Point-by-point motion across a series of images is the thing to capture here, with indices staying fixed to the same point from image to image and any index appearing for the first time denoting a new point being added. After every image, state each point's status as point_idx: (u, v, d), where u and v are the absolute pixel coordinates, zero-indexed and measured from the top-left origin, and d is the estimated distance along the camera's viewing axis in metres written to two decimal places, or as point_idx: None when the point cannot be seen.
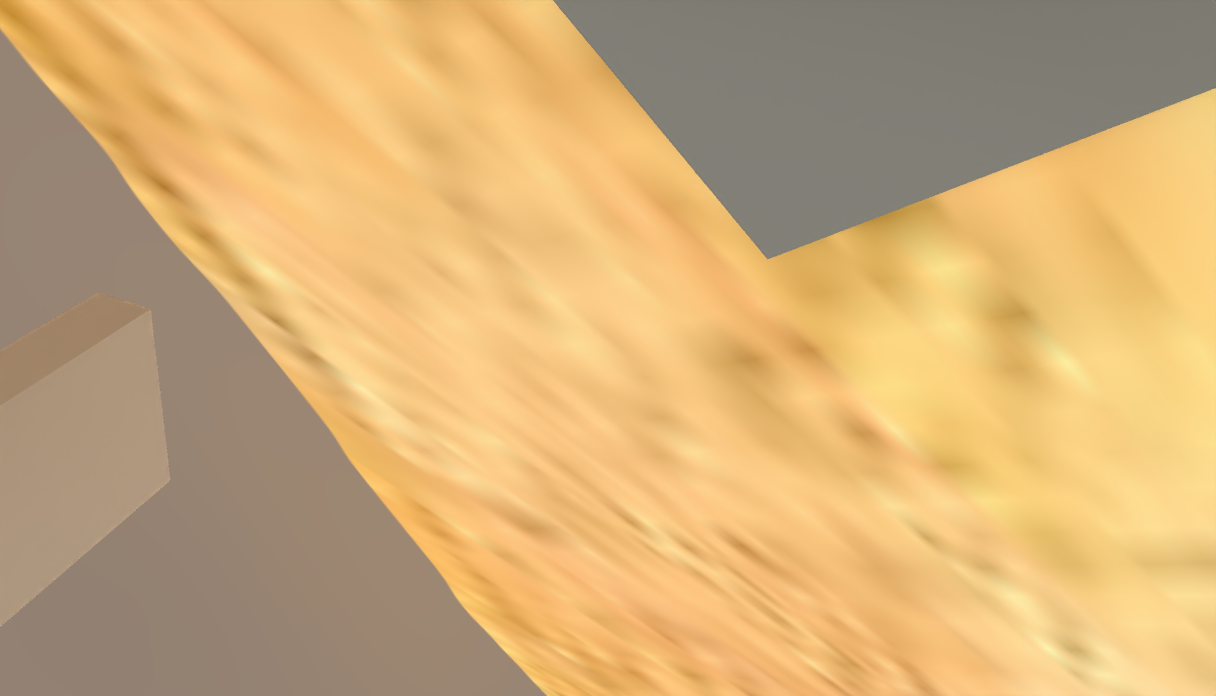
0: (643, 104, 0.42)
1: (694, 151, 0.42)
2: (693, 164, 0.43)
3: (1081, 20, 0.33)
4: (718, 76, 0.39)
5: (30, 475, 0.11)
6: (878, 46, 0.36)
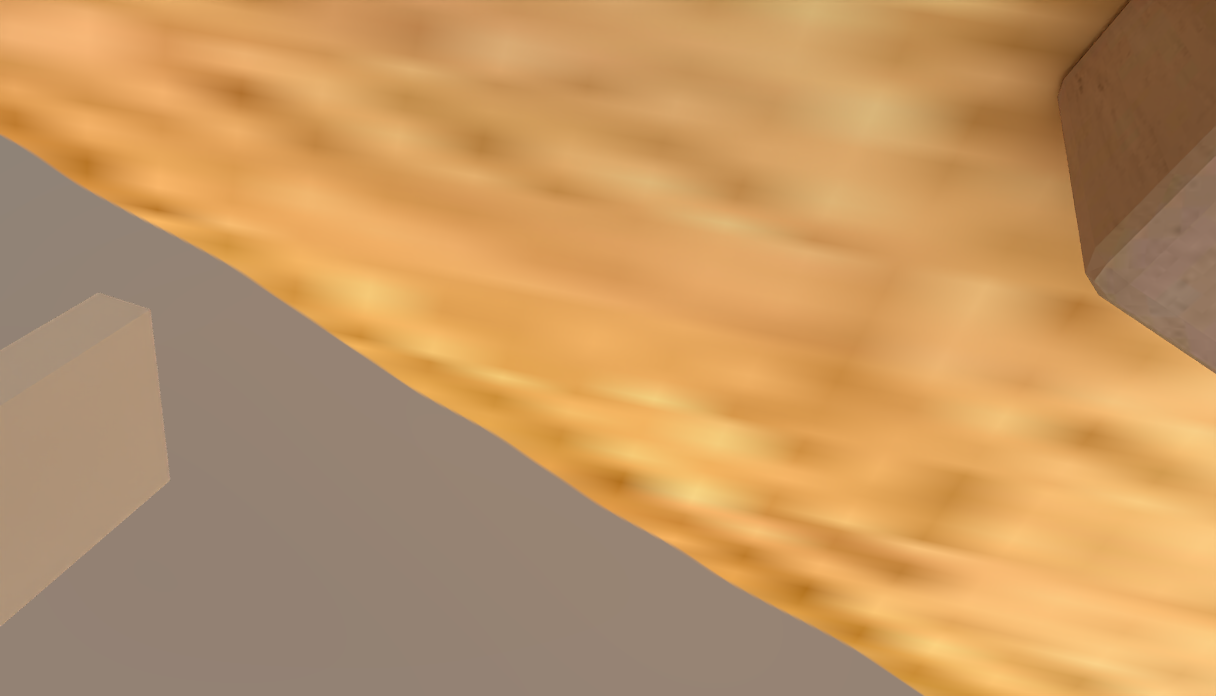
0: None
1: None
2: None
3: None
4: None
5: (30, 475, 0.11)
6: None
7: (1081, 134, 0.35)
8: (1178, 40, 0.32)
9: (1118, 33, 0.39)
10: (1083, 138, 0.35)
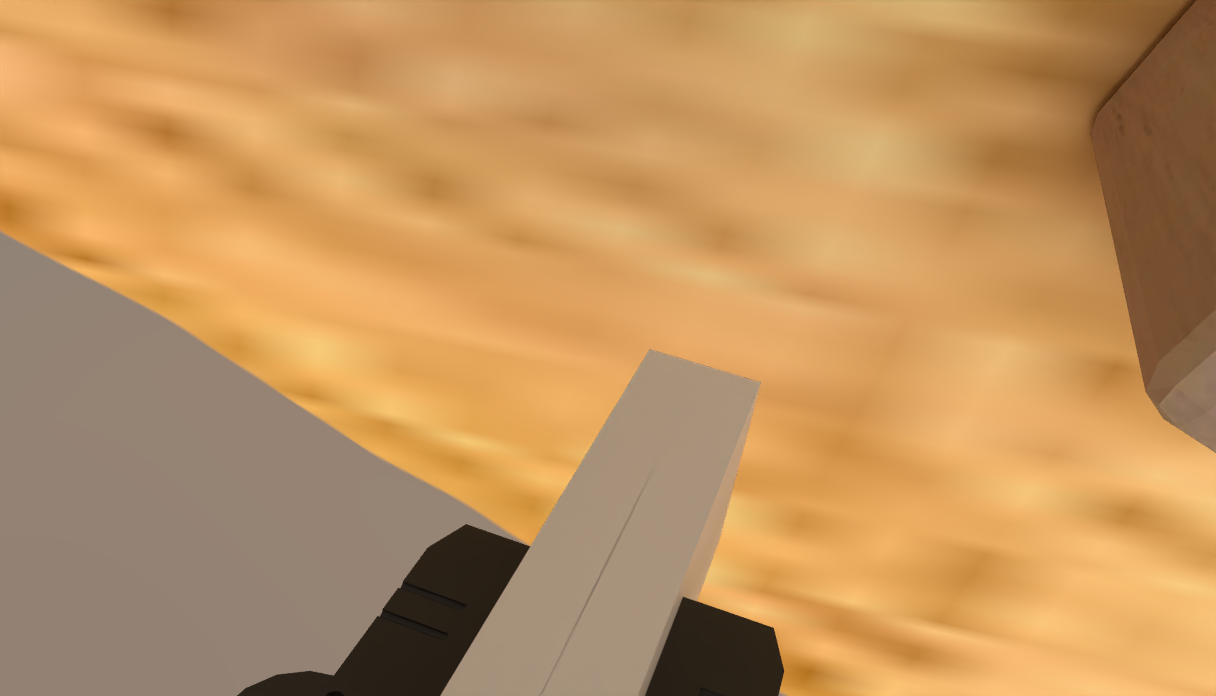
0: None
1: None
2: None
3: None
4: None
5: None
6: None
7: (1126, 191, 0.29)
8: None
9: (1165, 62, 0.33)
10: (1129, 197, 0.29)
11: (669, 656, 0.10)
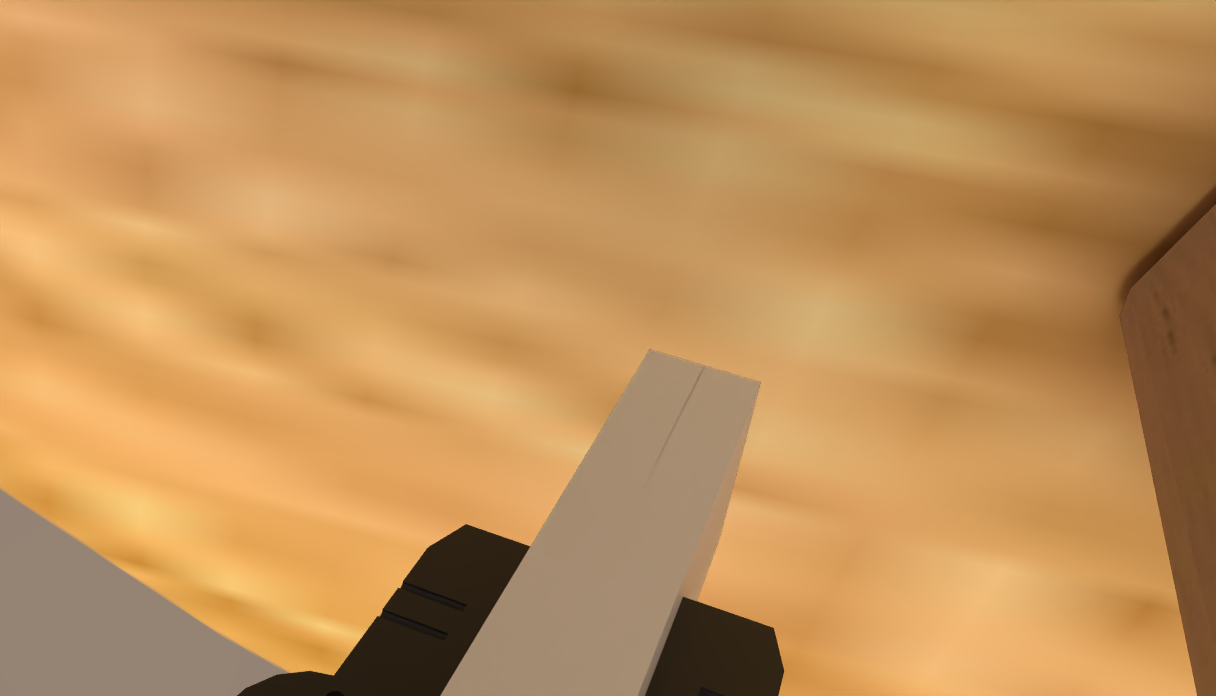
0: None
1: None
2: None
3: None
4: None
5: None
6: None
7: (1191, 480, 0.18)
8: None
9: None
10: (1198, 498, 0.18)
11: (669, 656, 0.10)
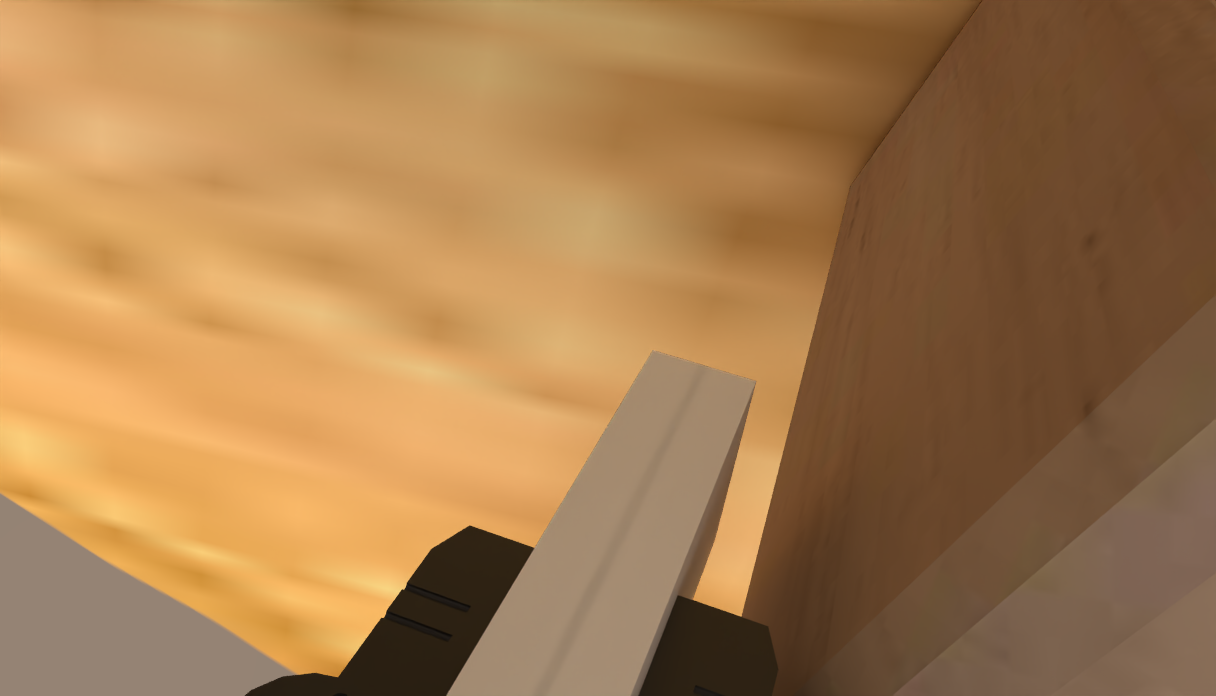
0: None
1: None
2: None
3: None
4: None
5: None
6: None
7: (815, 345, 0.19)
8: (950, 200, 0.16)
9: (910, 126, 0.23)
10: (813, 359, 0.19)
11: (663, 654, 0.10)
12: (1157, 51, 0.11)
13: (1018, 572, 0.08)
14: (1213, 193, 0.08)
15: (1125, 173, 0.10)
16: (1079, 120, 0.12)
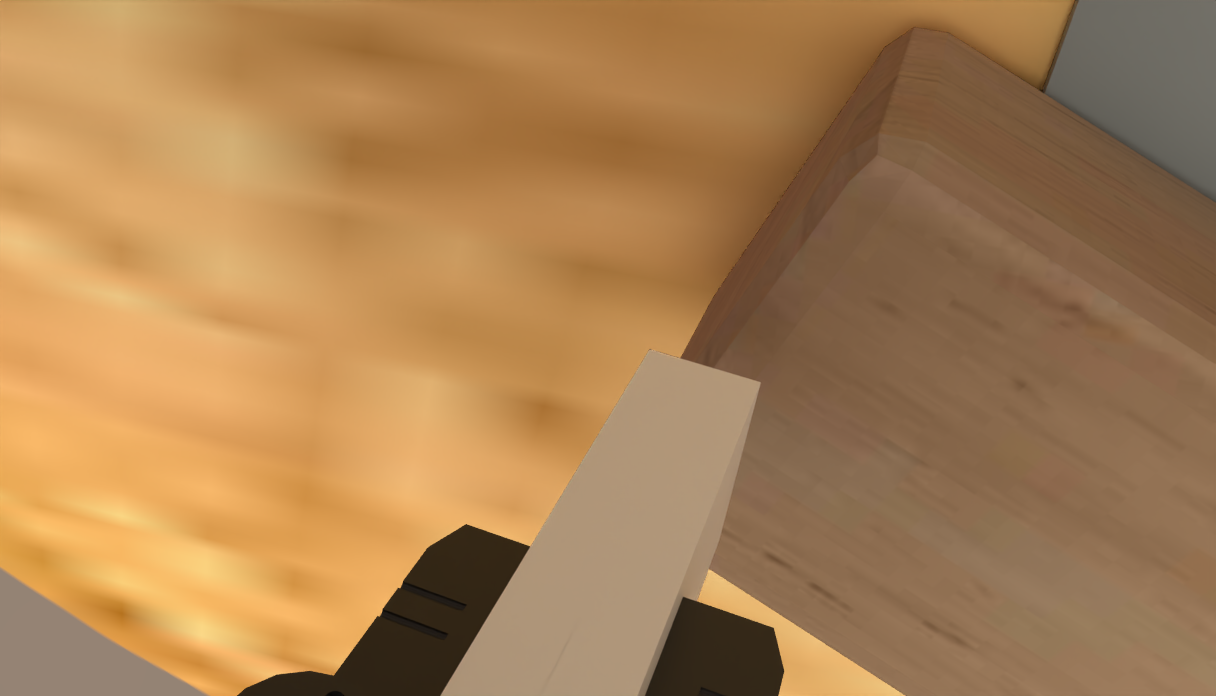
0: None
1: None
2: None
3: None
4: None
5: None
6: None
7: None
8: None
9: (821, 489, 0.19)
10: None
11: (668, 656, 0.10)
12: None
13: None
14: None
15: None
16: None
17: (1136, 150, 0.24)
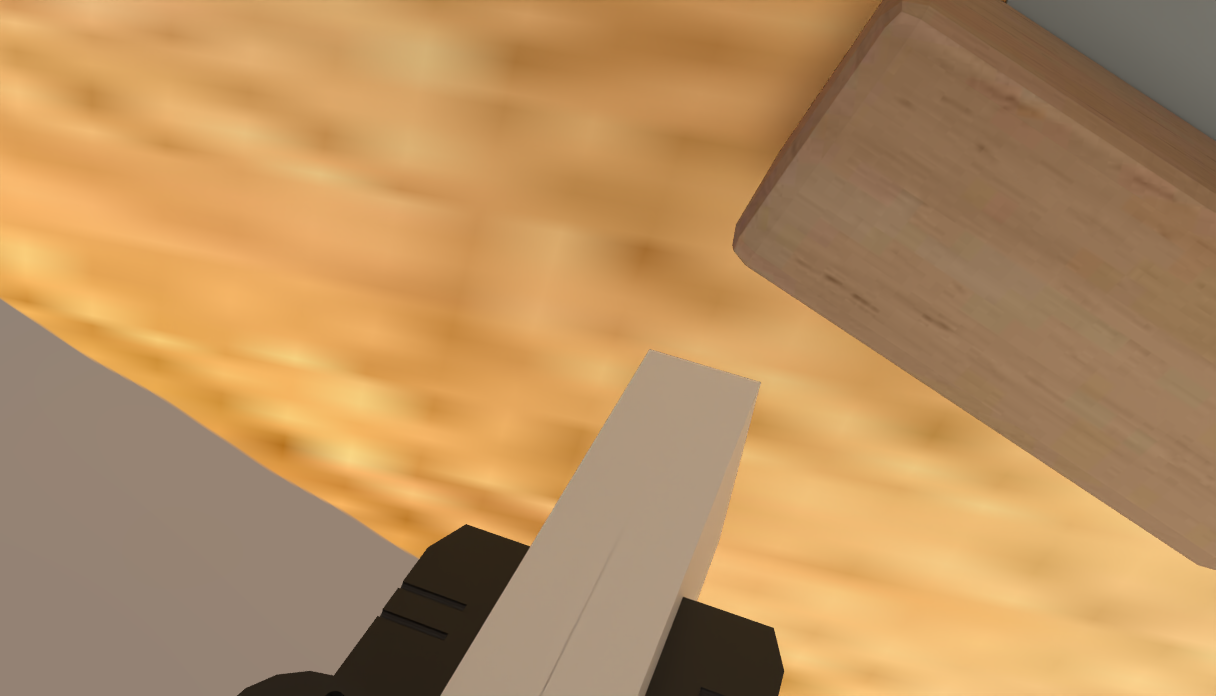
0: None
1: None
2: None
3: None
4: None
5: None
6: None
7: (977, 390, 0.34)
8: (1101, 322, 0.31)
9: (862, 226, 0.32)
10: (993, 399, 0.33)
11: (669, 656, 0.10)
12: None
13: None
14: None
15: None
16: None
17: None
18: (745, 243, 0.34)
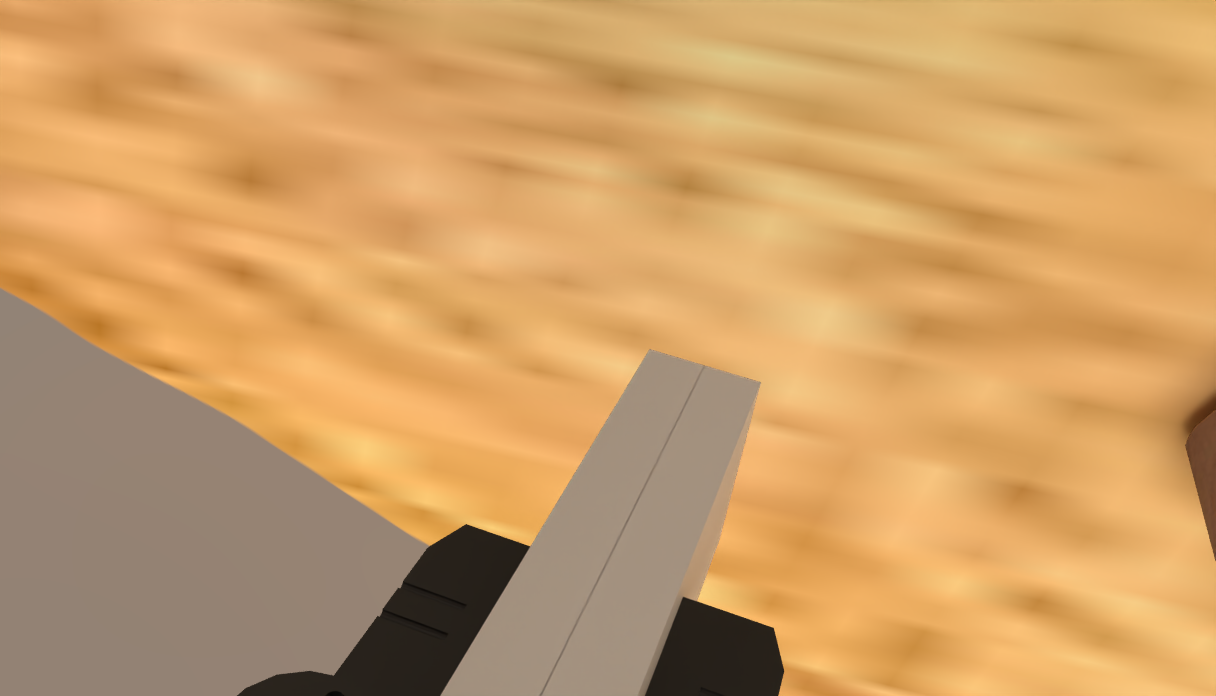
0: None
1: None
2: None
3: None
4: None
5: None
6: None
7: None
8: None
9: None
10: None
11: (669, 656, 0.10)
12: None
13: None
14: None
15: None
16: None
17: None
18: None
